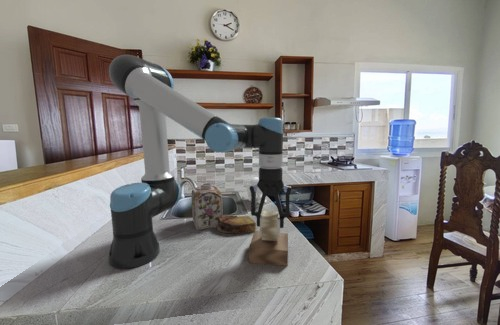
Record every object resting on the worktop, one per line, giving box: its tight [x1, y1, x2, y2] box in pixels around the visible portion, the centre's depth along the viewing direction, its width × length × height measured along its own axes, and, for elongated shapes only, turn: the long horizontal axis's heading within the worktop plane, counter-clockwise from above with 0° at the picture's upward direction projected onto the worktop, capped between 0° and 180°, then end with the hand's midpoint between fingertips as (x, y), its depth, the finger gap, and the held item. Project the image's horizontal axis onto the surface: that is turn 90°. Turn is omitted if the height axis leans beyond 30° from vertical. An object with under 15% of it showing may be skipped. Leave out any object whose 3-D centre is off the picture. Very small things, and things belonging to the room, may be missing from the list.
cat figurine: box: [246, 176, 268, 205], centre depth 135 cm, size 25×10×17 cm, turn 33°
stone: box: [216, 215, 257, 234], centre depth 97 cm, size 15×9×5 cm, turn 101°
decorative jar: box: [191, 182, 224, 231], centre depth 102 cm, size 12×12×18 cm
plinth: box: [248, 230, 289, 267], centre depth 77 cm, size 12×12×5 cm
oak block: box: [261, 210, 279, 241], centre depth 76 cm, size 5×5×8 cm
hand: (270, 235), depth 77 cm, fingers closed on oak block, 5 cm apart
